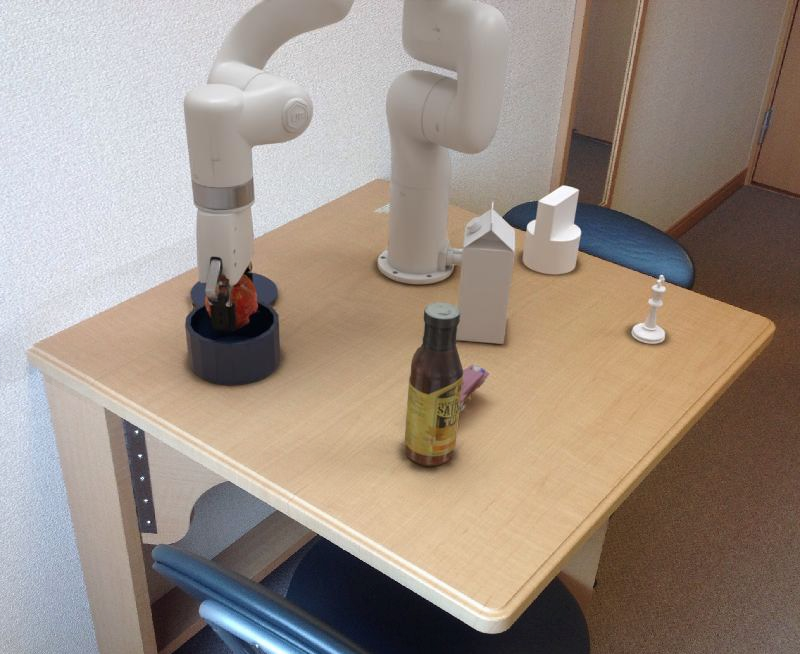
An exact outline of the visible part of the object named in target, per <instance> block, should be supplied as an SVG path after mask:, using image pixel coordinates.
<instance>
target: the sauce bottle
mask: <svg viewBox="0 0 800 654" xmlns="http://www.w3.org/2000/svg"><path fill="white" fill-rule="evenodd" d="M423 322H424V328H423V336H422V343H421V345H420V346H419V347H417V349H416V350H415V352H414V354H413V356H412V359H411V362H410V363H411V364H410V375H409V379H408V388H407V389H408V390H407V403H406V404H407V405H406V415H405V431H404V443H405V452H406V455H407V457H408V458H409V459H410V460H411V461H412V462H415V463H416V464H419V465H421V466H427V467H430V466H431V467H433V466H439V465H442V464H445V463H447V462H448V461H449V460H450V459H451V458H452V457H453V453H454V449H455V447H456V444H457V435H458V426H459V418H460V417H459V416H460V412H459V410H460V400H461V391H462V383H463V370H464V368H463V366H462V361H461V358H460V354H459V351H458V347H457V344H458V342H457V341H458V340H456V334H457V325H458V324H459V322H460V310H459V309H458V306H456V305H455V304H453V303H450V302H443V301H437V302H436V301H435V302H431V303H429V304H427V305H426V306H425V307H424V309H423Z"/></svg>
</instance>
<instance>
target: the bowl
mask: <svg viewBox="0 0 800 654" xmlns="http://www.w3.org/2000/svg"><path fill="white" fill-rule="evenodd" d="M257 304H258V308H257V311H260V313H258V312H255V313H254V314H252V315H250V316H249V323H248V324H247V325H245V326H243V327H242V328H240V329H236V331H235V332H231V331H222V330H214V329H213V328H212V321H211V317H210V316H209V313H208V311H207V309H206V306H205V303H203V304H201V305H199V306H198V307H197V306H195V307H194V308H193V309H192V310H191V311H190V312H189V313H188V314H187V316H186V317H185V322H184V328H185V329H184V330H185V337H186V347H187V356H188V363H189V366H190V369H191V371H192V372H193V374H195V376H197V377H198V378H200V379H201V380H203V381H206V382H208V383H211V384H215V385H220V386H241V385H242V386H243V385H248V384H253V383H255V382H259V381H261V380H264V379H266V378H268V377H269V376H271V375H272V374H273V373H274V372H275V371H276V370H277V369H278V367H279V366H280V363H281V341H280V339H281V337H280V314H278V311H277V310H276V309H275V308H274V307H273V306H272V305H268V304H266V303H265V302H262V301H259V300H257Z"/></svg>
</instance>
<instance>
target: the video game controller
mask: <svg viewBox="0 0 800 654" xmlns="http://www.w3.org/2000/svg"><path fill="white" fill-rule="evenodd" d="M489 375H490V373H489V372H488V371H487V370H485V369H484V367H481V366H479V365H477V364H476V363H474V364H471V365H469V366H468V367H466V368H463V383H462V391H461V400H460V410H459V413H460V412H462V411H463V410H464V409H465V408H466V404H464V403H465V402H470V401H471V400H472V395H473V393H474V392H475V391H477V389H480V387H482V385H484V383H485V382H486V379H487V378H488V377H489Z"/></svg>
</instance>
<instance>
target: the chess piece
mask: <svg viewBox="0 0 800 654" xmlns="http://www.w3.org/2000/svg"><path fill="white" fill-rule="evenodd" d="M665 281H666V278H665V275H663V274H660V275H659V277H658V279H657V280H656V282H655V284H653V285H652V286H651V293H652V296H651V297H652V298H649V299H648V301H647V303H648V304H649V306H650V309H649V312H648V313H647V316H646V319H645V321H644V322H640V323H636V324H635V325H633V327H632V329H631V336H632V337H633V338H634V339H635V340H637V341H638V342H641V343H644V344H648V345H650V344H651V345H657V344H660V343H662V342H663V341H665V339H666V331H665V330H664V329H663V328H662V327H661V326H659V325H658V324H657V319H658V310H659V307H662V306H663V305H664V302H663V300H662V297H663V296H664V294H666V291H667V288H666V287H665V286H664V285H663V283H664V282H665Z"/></svg>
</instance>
